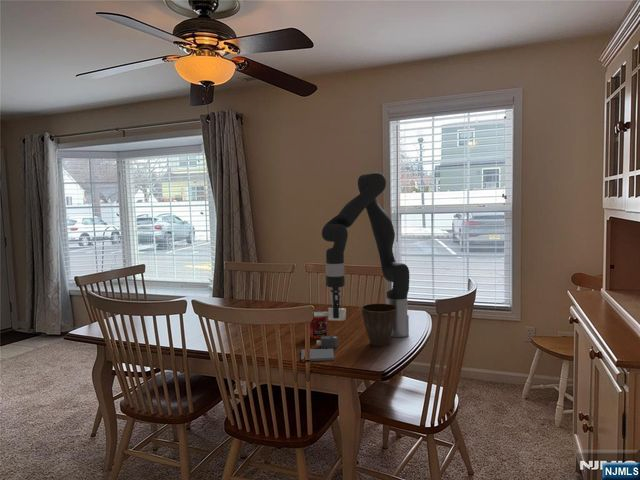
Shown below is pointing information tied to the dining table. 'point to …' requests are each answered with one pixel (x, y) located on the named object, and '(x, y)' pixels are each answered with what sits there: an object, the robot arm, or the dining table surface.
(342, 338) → the dining table surface
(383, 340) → the plant pot
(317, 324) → the canned food
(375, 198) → the robot arm
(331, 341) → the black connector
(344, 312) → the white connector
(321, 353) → the felt pad
